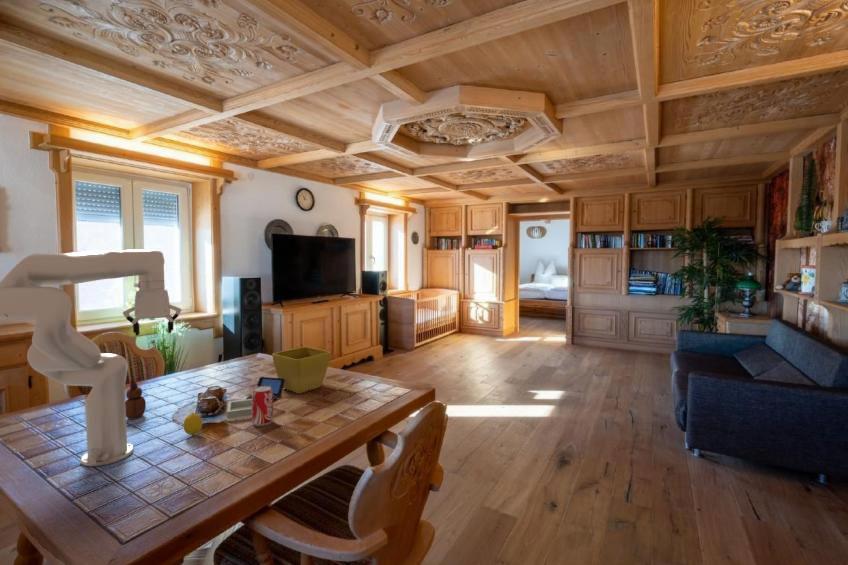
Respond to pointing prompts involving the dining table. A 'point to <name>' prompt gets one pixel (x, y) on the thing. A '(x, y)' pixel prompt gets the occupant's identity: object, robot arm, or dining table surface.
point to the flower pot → (301, 368)
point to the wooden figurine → (134, 402)
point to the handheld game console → (275, 386)
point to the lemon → (192, 424)
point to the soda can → (262, 406)
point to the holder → (239, 410)
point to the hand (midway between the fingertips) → (154, 333)
